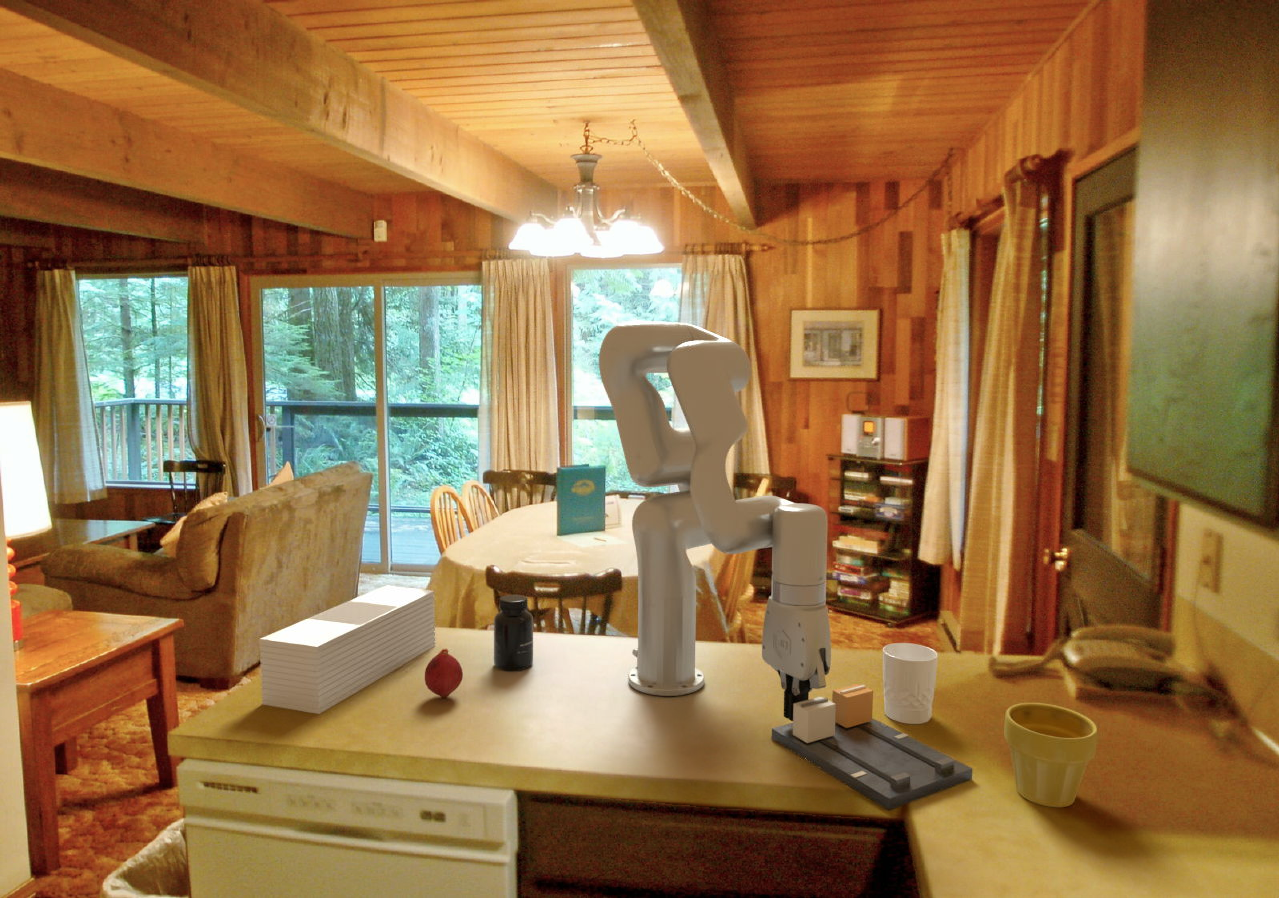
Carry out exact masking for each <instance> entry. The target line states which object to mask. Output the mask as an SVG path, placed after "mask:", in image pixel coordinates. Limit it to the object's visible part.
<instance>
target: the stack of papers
mask: <svg viewBox="0 0 1279 898" xmlns="http://www.w3.org/2000/svg"><path fill="white" fill-rule="evenodd" d="M435 610H436V609H435V590H432V589H431V590H430V589H419V588H410V587H403V586H402V587H401V586H392V585H384V586H380V587H379V588H376V589H374V590H371V591H369V592H366V593H365V594H362V595H359V596H357V597H355V598H353V599H351V600H348V601H345V602H343V603H340V604H338V605H335V606H334V607H331V608H329V609H327V610H324V611H322V612H320V613H317V614H315V615H313V616H310V617H307V618H306V619H302V620H300V621H299V622H295V623H294V624H291V625H289V626H287V627H283V628H282V629H279V630H277V631H275V632H272V633H270V634H268V635H265V636H263V637H260V638H259V639H258V644H259V657H260V658H259V662H260V664H259V665H260V675H261V676H260V681H261V683H260V685H261V693H262V694H261V699H262V700H261V704H262V705H263V706H270V707H276V708H280V709H281V708H283V709H288V710H292V711H299V712H300V711H301V712H306V713H310V714H311V713H312V714H316V715H320V714H321V713H323V712H325V711H327V710H329V709H330V708H332V707H333V706H335V705H337V704H339V703H341V702H342V701H344V700H345V699H348V698H349V697H351V696H352V695H354V694H355V693H358V692H359V691H361V690H362V689H364V688H366V687H368V686H369V685H371V684H373V683H374V682H376V681H378V680H380V679H381V678H384V677H385V676H386V675H388V674H390V673H392V672H393V671H395V670H398V668H400V667H402V666H404V665H405V664H407V663H409V662H410V661H412V660H414V659H415V658H417V657H418V656H420V655H422V654H424V653H425V652H428V651H429V650H431V649H432V648H434V647H436V632H435V631H436V627H435V626H436V622H435V621H436V620H435V618H436V617H435Z"/></svg>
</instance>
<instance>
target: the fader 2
mask: <svg viewBox="0 0 1279 898" xmlns="http://www.w3.org/2000/svg"><path fill="white" fill-rule="evenodd" d="M831 698H832V699H831V702H833V703H835V704H836V713H835V722H836V723H838V724H840V725H842V726H843V727H845V728H848V727H852V726H855V725H859V724H862V723H866V722H869V721H872V718H873V709H874V708H873V704H874V690H873V689H871V688H868V687H867V686H866V685H865V684H861V683H860V684H859V683H856V684H851V685H848V686H843V687H839V688H836V689H832V695H831Z"/></svg>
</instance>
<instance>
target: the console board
mask: <svg viewBox="0 0 1279 898" xmlns="http://www.w3.org/2000/svg"><path fill="white" fill-rule="evenodd" d="M771 739H772V740H773V741H774V742H777V743H779V745H781V746H783V747H785V746H786V747H787V748H786V747H785V748H786V749H788V748H789V749H788V750H790V751H791V750H792V751H791V752H792V753H794V752H795V754H796V755H798V754H799V755H800V756H799V755H798V756H799V757H801V756H802V757H801V758H803V759H804V758H806V759H807V760H808V761H807V760H806V759H805V760H806V761H807V762H809V761H810V762H809V763H811V762H812V763H813V764H812V763H811V764H812V765H814V764H815V765H814V766H815V767H817V766H818V767H817V768H819V767H820V768H821V769H820V768H819V769H820V770H822V769H823V770H822V771H824V772H825V773H827V774H829V775H830V776H832V777H834V778H835V779H837V780H838V781H840V782H842V783H844V784H845V785H847V786H849V787H850V788H852V789H853V790H855V791H856V792H858V793H859V794H862V795H863V796H864V797H865V798H867V799H869V800H871V801H872V802H874V803H875V804H877V805H879V806H880V807H883V808H884V809H886V810H887V811H890V810H894V809H896V808H899V807H901V806H904V805H907V804H909V803H912V802H915V801H917V800H920V799H923V798H927V797H929V796H931V795H934V794H937V793H940V792H942V791H945V790H948V789H951V788H952V787H955V786H958V785H961V784H964V783H966V782H969V781H971V780H973V767H970V766H969V765H967V764H965V763H963V762H961V761H959V760H956V759H954V758H953V757H952V756H951V757H950V756H948V755H947V754H944V753H942V752H940V751H938V750H937V749H935V748H934V747H931V746H929V745H927V744H924V743H922V742H920V740H919V741H918V740H917V739H914V738H913V737H911V736H909V735H908V734H906V733H904V732H900V731H898V730H897V729H895V728H892V727H890V726H889V725H886V724H885V723H882V722H881V721H880V720H877V719H875V718H873V717H872V721H869V722H866V723H862V724H859V725H855V726H852V727H848V728H845V727H843V726H842V725H840V724H838V723H836V722H835V735H833V736H830V737H827V738H823V739H820V740H816V741H813V742H810V743H806V742H804V741H803V740H801V739H799V738H798V737H796V736H794V735H793V722H790V723H786V724H783V725H779V726H775V727H772V728H771Z"/></svg>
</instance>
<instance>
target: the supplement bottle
mask: <svg viewBox="0 0 1279 898" xmlns="http://www.w3.org/2000/svg"><path fill="white" fill-rule="evenodd" d="M528 608H529V605H528V597H527V596H525V595H521V594H507V595H504V596H501V597H500V598H499V605H498V609H499V612H497V613H496V614H495V616H494V619H493V665H494V666H495V667H496V668H497V669H499V670H502V671H507V672H508V671H509V672H511V671H512V672H514V671H515V672H516V671H517V672H518V671H523V670H526V669H528V668H530V667H532V665H533V663H534V618H533V615H532V613H531V612H529V610H528Z"/></svg>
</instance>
